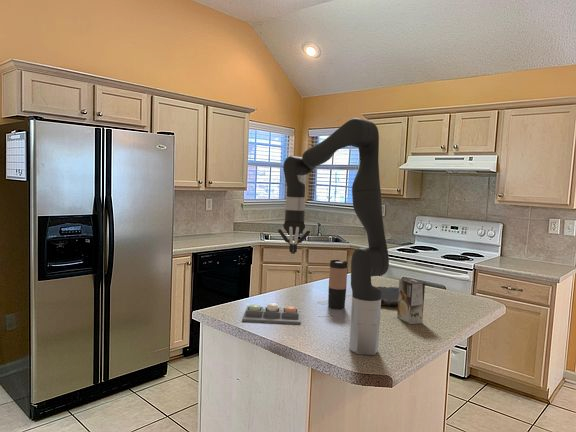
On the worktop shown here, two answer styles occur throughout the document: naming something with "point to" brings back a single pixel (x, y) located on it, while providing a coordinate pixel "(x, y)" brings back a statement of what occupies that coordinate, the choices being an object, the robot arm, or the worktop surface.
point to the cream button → (272, 307)
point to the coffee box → (411, 301)
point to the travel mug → (337, 284)
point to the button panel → (272, 316)
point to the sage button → (254, 307)
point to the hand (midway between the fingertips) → (293, 253)
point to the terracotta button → (290, 309)
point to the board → (389, 296)
